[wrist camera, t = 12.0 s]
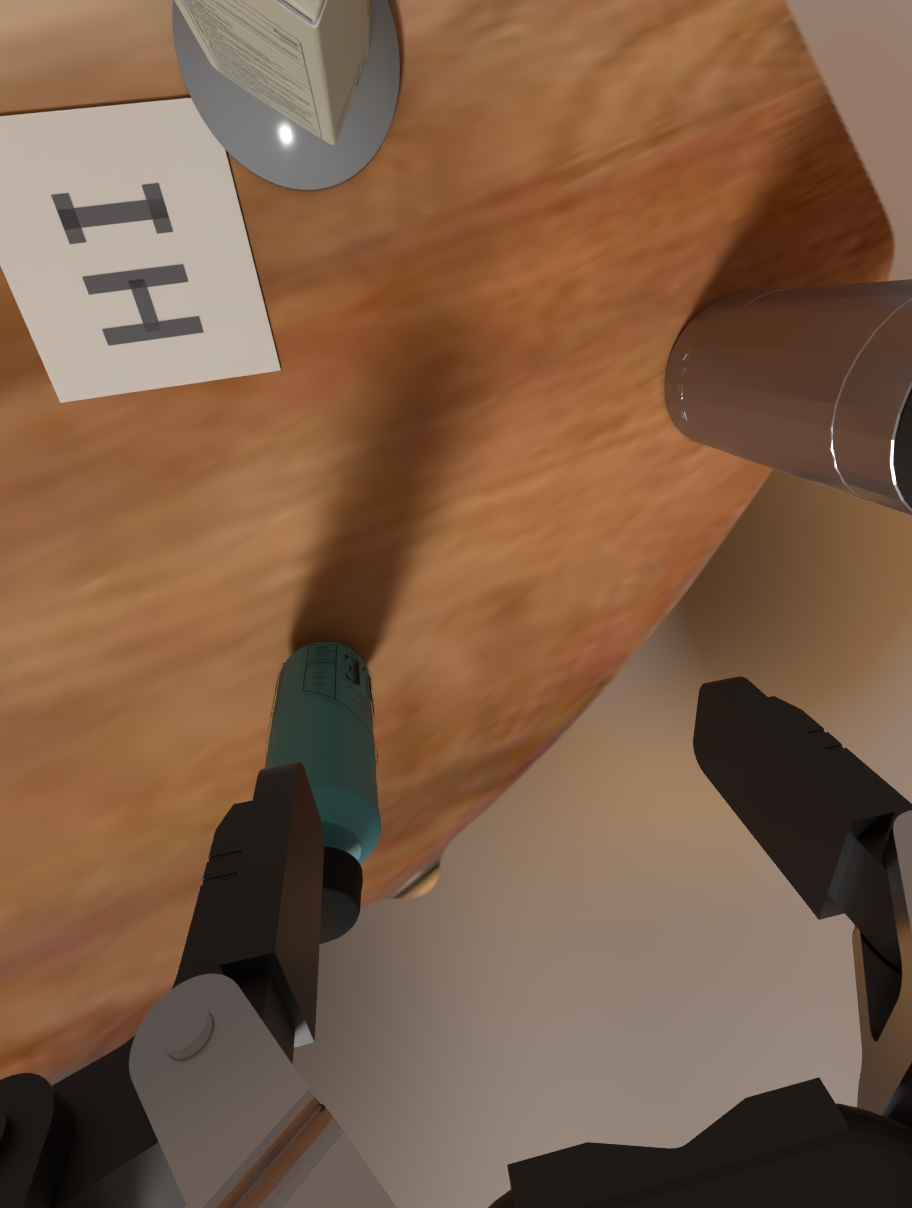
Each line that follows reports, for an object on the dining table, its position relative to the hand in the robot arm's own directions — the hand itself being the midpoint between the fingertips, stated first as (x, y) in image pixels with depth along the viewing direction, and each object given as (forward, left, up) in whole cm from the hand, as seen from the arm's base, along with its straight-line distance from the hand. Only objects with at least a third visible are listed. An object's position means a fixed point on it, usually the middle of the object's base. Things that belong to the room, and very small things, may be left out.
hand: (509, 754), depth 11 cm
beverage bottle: (+8, +14, -28) cm, 32 cm away
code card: (+12, -12, -27) cm, 32 cm away
